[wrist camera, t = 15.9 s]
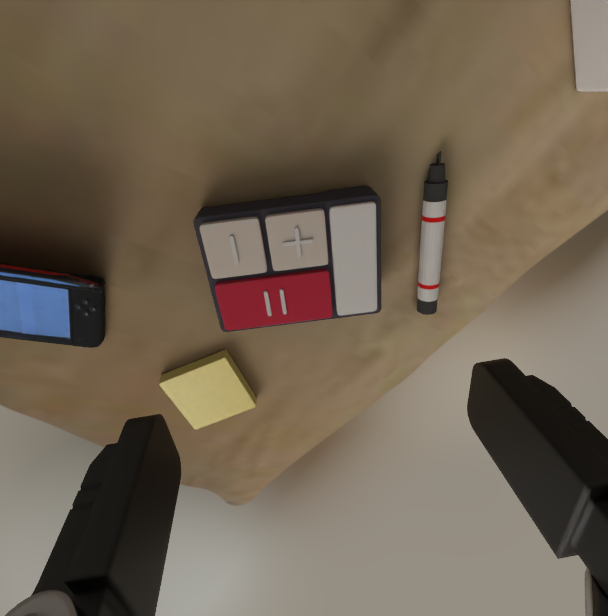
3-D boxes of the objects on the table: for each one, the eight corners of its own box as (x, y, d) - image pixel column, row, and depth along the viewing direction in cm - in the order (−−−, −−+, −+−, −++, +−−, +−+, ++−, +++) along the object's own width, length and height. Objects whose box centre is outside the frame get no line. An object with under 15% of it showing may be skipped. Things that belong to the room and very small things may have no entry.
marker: (431, 303, 40) (440, 313, 38) (413, 306, 40) (421, 316, 38) (444, 147, 32) (455, 150, 31) (422, 150, 32) (431, 154, 30)
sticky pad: (161, 374, 40) (158, 383, 39) (226, 348, 40) (225, 357, 38) (196, 420, 44) (195, 430, 43) (256, 397, 43) (256, 406, 42)
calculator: (189, 220, 29) (383, 196, 29) (199, 206, 33) (371, 184, 33) (220, 337, 35) (383, 317, 35) (226, 313, 38) (373, 295, 38)
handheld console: (-40, 326, 35) (-105, 378, 29) (-62, 212, 30) (-148, 244, 24) (106, 344, 38) (76, 395, 31) (107, 242, 33) (71, 278, 27)
